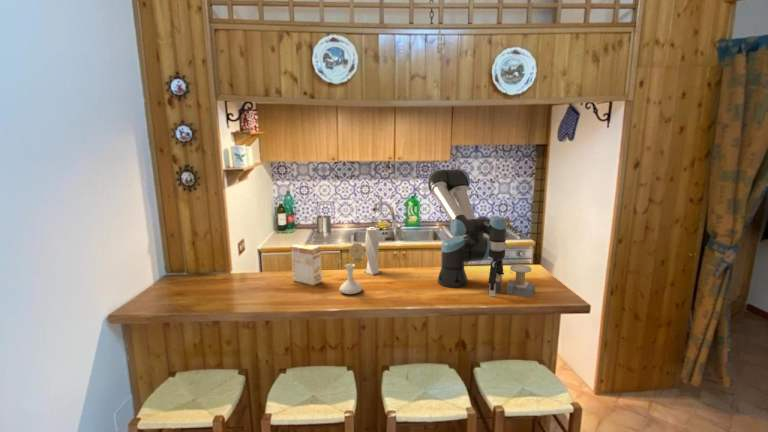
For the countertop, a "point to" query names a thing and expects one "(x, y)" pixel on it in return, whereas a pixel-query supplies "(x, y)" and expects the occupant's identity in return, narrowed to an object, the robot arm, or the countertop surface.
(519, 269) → the bobbin
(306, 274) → the coffeecake box
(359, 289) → the flower in vase
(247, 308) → the countertop surface
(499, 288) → the tan and grey block
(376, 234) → the skyscraper
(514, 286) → the notch board
